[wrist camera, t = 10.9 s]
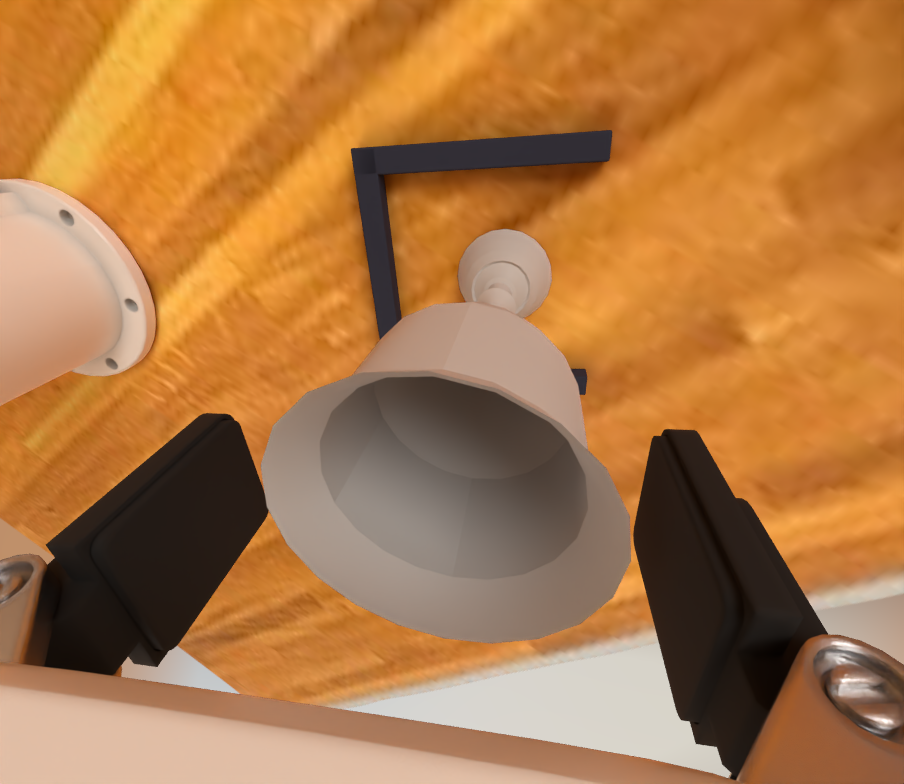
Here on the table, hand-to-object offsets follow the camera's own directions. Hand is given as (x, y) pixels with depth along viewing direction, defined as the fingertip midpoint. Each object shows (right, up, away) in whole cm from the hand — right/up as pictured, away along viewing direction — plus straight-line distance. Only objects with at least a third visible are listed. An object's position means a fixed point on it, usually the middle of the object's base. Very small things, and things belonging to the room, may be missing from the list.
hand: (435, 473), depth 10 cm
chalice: (+3, +8, +14) cm, 17 cm away
